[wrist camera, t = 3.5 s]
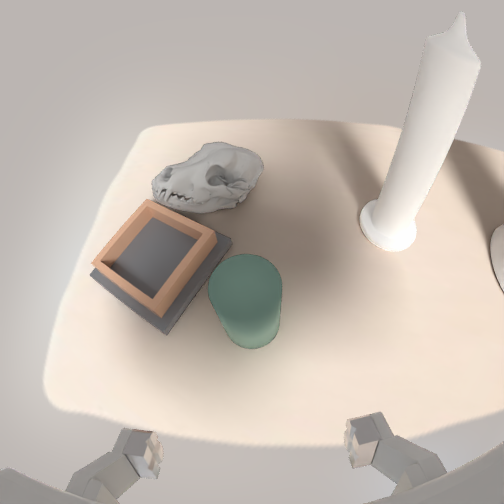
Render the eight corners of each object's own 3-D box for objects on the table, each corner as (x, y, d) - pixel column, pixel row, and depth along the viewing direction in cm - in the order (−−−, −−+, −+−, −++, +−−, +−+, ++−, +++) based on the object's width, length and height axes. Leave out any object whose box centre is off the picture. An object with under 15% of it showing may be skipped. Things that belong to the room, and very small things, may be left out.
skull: (283, 177, 32) (199, 152, 23) (239, 231, 37) (155, 226, 28) (249, 139, 36) (171, 111, 27) (213, 189, 40) (135, 177, 31)
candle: (346, 217, 32) (395, -12, 11) (386, 194, 34) (441, 1, 12) (388, 263, 29) (492, 30, 7) (425, 234, 30) (516, 40, 9)
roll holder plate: (232, 244, 31) (228, 227, 29) (166, 335, 26) (155, 325, 24) (154, 206, 35) (146, 190, 32) (93, 279, 30) (80, 266, 27)
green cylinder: (289, 312, 27) (295, 273, 20) (261, 358, 25) (258, 335, 18) (243, 288, 28) (233, 243, 22) (214, 331, 26) (193, 298, 19)
